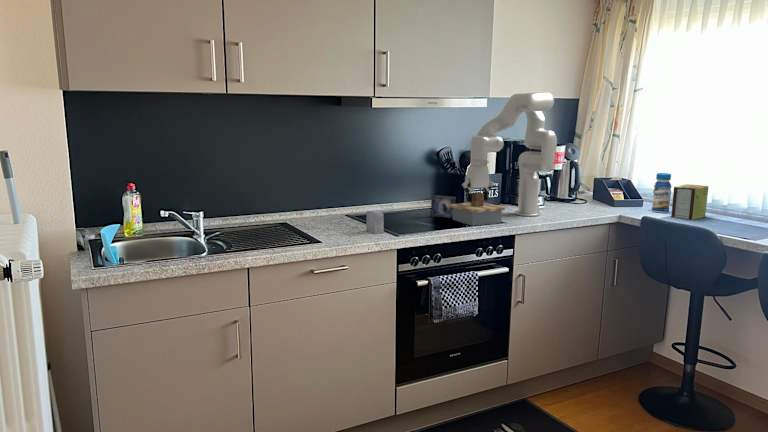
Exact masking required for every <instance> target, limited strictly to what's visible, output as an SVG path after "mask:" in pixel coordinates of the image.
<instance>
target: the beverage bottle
mask: <svg viewBox="0 0 768 432" xmlns="http://www.w3.org/2000/svg"><path fill="white" fill-rule="evenodd" d="M671 178H672V175H671V173H668V172H656V178H655V179H656V182H655V183H654V185H653V191H652V193H653V195H652V196H653V197H652V205H651V206H652V207H651V211H652V212H654V213H658V214H659V213H660V214H667V213H669V212H670V201H671V194H672V190H671V189H672V184H671V182H670V181H671Z"/></svg>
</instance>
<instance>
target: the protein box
mask: <svg viewBox="0 0 768 432" xmlns="http://www.w3.org/2000/svg"><path fill="white" fill-rule="evenodd" d="M709 188H710V187H709V185H699V184H691V183H689V184H688V183H687V184H681V185H676V186H673V192H672V193H673V195H672V205H671V216H670V218H674V219H675V218H676V219H682V220H687V221H688V220H690V221H694V220H698V219H702V218H705V217H706V212H707V203H708V194H709Z"/></svg>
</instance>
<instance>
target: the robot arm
mask: <svg viewBox="0 0 768 432" xmlns="http://www.w3.org/2000/svg"><path fill="white" fill-rule="evenodd" d="M554 101H555V99H554V96H553V95H552V94H551V93H550V92H527V93H526V92H525V93H523V92H522V93H515V94H512V95H511V96H510V97H509V99H508V100H507V102H506V103H505V105H504V106H503V108H502V109H501V111H500V112H499V114H498V115H497V116H495V117H493V119H491V120H490V121H488V122H486V123H485V124H484V125H482V127H481V128H480V129H479V131H478V132H477V134H476V135H474V136H472V137H471V138H470V139H471V141H470V166H468V168H467V172H466V177H465V179H466V180H465V181H464V182H462V184H461V186H462V188H463V190H464V191H465V193H466V203H471V202H472V193H473V190H474V189H483V191H482V193H484V201H485V202H487V201H489V193H490V191H491V190H492V187H493V186H494V181H492V180H491V179H490V172H489V166H488V164H489V163H490V161H489V160H488V154H489V153H497V152H500V151H501V150H502V149H503V148H504V143H505V142H504V139H503V138H502V137H501V136H498V135H495V134H497V133H499V132H503V131H505V130H508V129H510V128H512V127H513V126H514V125H515V124H516V122H517V121H518V119H519V117H520V116H521V114H522V113H523V112H524V113H525V115H526V120H527V122H526V129H525V135H524V146H525V147H526V148H527V149H530V150H531V149H533V150H541V151H533V150H532V151H524V152H522V153H521V154H519V157H518V169H519V171H518V172H519V182H518V183H519V184H518V186H519V188H518V200H517V201H518V203H517V204H518V206H517V209H516V210H515V211H514V214H515V215H517V216H521V217H538V216H541V211H544V210H545V209H546V207H545V206H544V205H539V188H540V187H539V186H540V178H539V174H538V172H539V173H548V172H550V171H552V168H553V167H554V162H555V157H556V152H557V145H558V140H557V139H558V137H557V134H556V133H555V131H553V130H550V129H545V127H546V126H545V124H546V123H545V122H546V118H545V115H544V113H543V112H547V111H549V110H551V109H552V108H553V107H554ZM488 152H489V153H488Z"/></svg>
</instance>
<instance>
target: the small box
mask: <svg viewBox="0 0 768 432" xmlns="http://www.w3.org/2000/svg"><path fill="white" fill-rule="evenodd" d="M456 198H457V197H456V196H450V195H449V196H448V195H440V194H439V195H438V194H436V195H434V196H431V202H430V203H431V205H430V207H431V210H430V213H431V215H430V217H431V218H438V217H440V218H448V219H451V218H452V219H453V207H450V204H456Z"/></svg>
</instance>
